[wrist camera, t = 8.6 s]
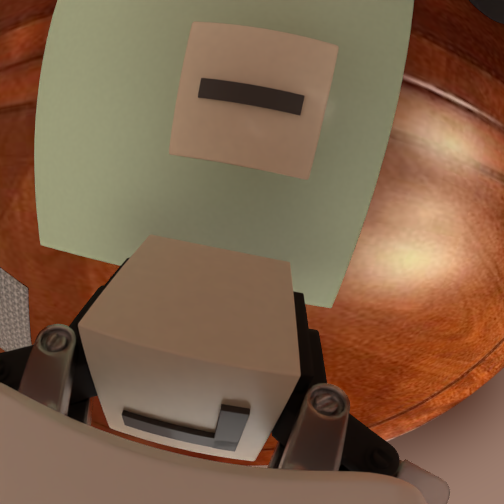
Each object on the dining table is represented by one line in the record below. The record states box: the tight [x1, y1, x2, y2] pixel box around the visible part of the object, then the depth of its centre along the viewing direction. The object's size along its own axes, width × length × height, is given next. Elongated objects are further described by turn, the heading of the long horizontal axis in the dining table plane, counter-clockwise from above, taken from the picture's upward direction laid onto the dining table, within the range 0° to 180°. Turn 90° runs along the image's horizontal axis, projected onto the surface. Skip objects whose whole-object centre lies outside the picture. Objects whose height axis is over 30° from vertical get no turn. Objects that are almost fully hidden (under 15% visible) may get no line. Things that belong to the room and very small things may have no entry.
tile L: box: [78, 235, 301, 461], centre depth 9 cm, size 5×5×5 cm
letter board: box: [34, 0, 414, 308], centre depth 13 cm, size 22×21×1 cm
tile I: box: [169, 22, 339, 180], centre depth 11 cm, size 5×5×5 cm
